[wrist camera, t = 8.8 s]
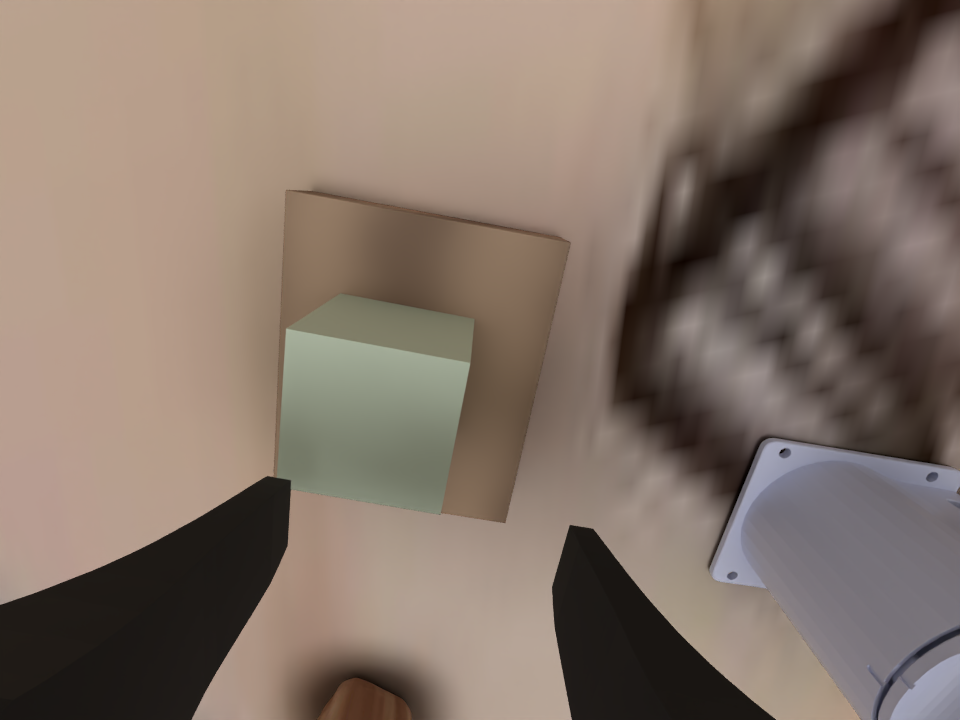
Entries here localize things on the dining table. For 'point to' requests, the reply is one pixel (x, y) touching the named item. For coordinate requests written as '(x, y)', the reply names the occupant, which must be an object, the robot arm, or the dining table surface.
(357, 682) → the cupcake
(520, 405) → the walnut block
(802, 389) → the dining table surface
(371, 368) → the sage cube
